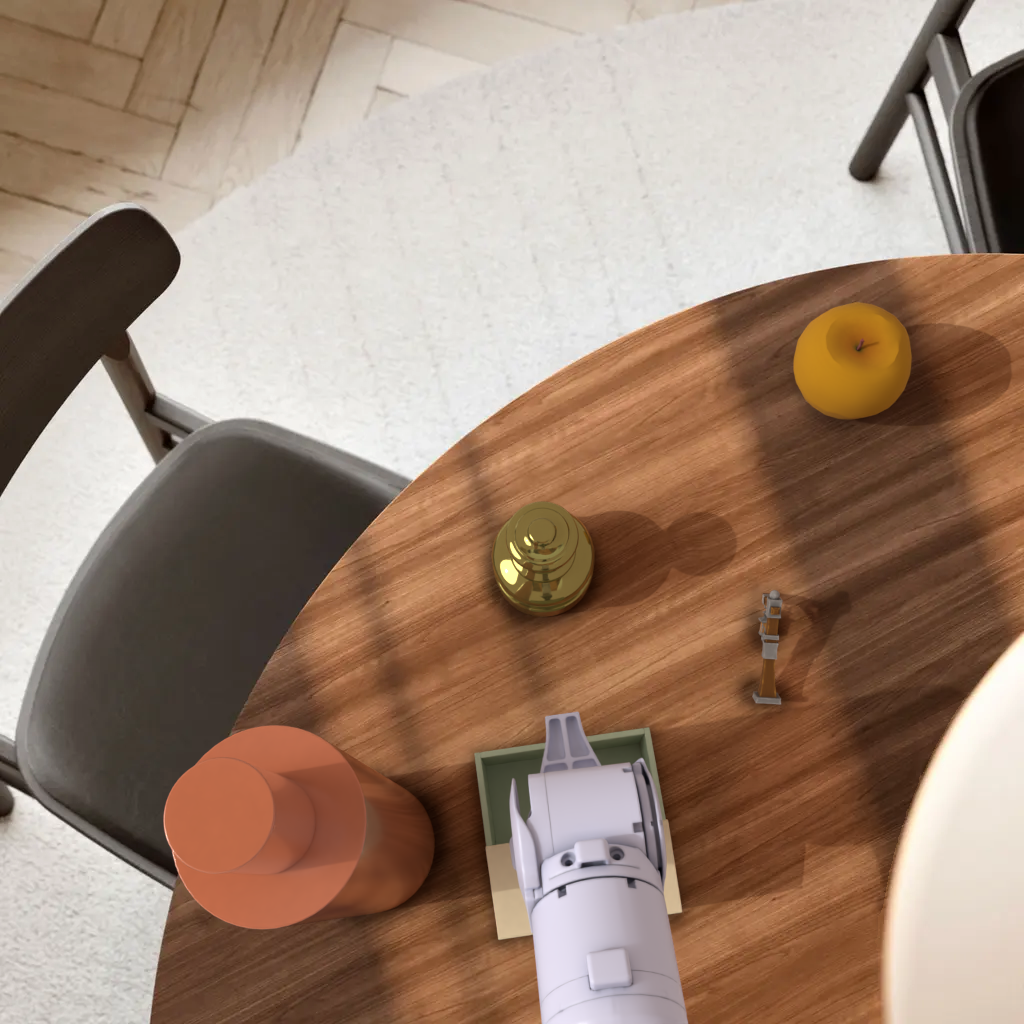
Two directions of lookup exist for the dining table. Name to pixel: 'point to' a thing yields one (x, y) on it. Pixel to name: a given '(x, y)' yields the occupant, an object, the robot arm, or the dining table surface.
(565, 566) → the brass weight
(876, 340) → the apple
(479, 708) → the dining table surface
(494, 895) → the door
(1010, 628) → the dining table surface
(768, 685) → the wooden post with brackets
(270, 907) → the vase
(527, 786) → the box
